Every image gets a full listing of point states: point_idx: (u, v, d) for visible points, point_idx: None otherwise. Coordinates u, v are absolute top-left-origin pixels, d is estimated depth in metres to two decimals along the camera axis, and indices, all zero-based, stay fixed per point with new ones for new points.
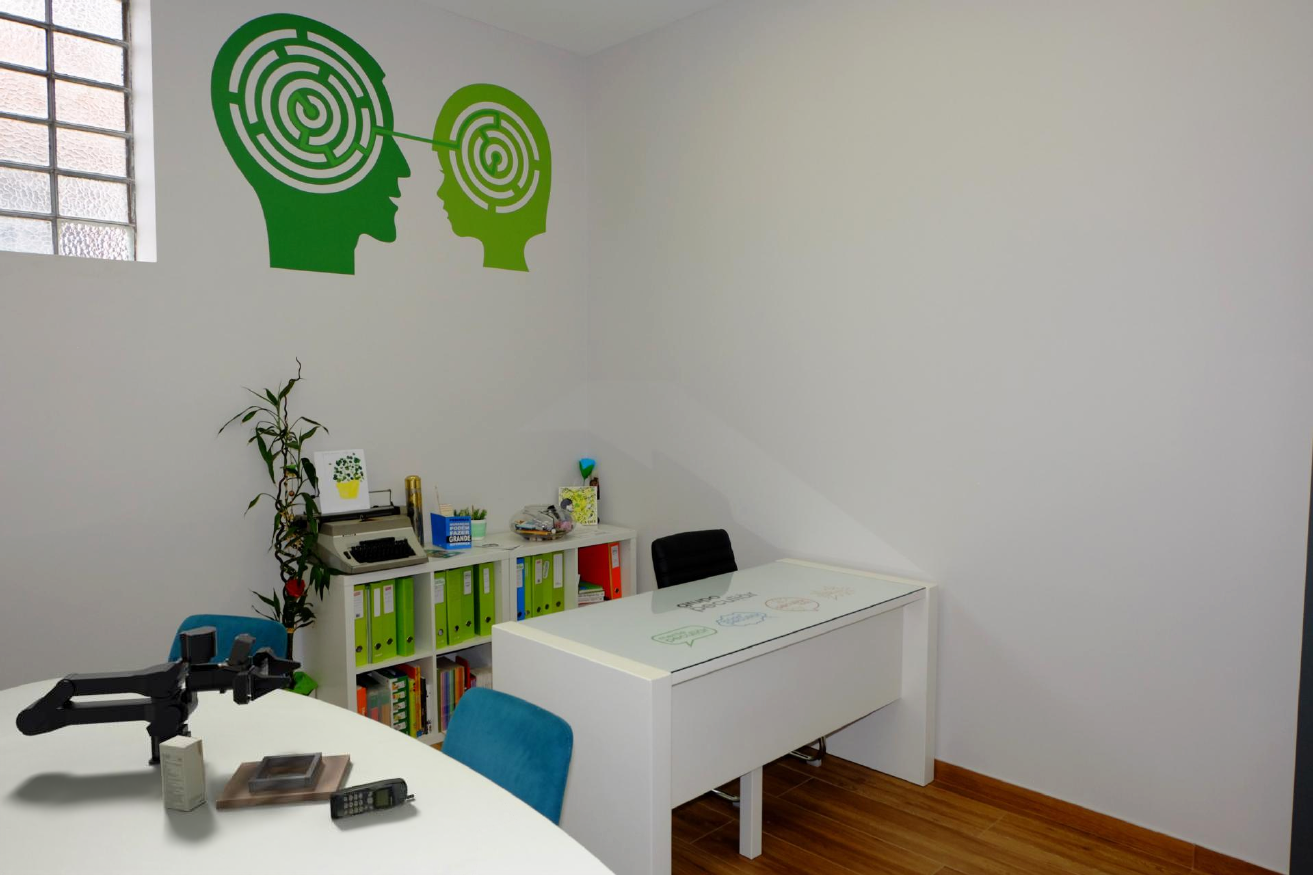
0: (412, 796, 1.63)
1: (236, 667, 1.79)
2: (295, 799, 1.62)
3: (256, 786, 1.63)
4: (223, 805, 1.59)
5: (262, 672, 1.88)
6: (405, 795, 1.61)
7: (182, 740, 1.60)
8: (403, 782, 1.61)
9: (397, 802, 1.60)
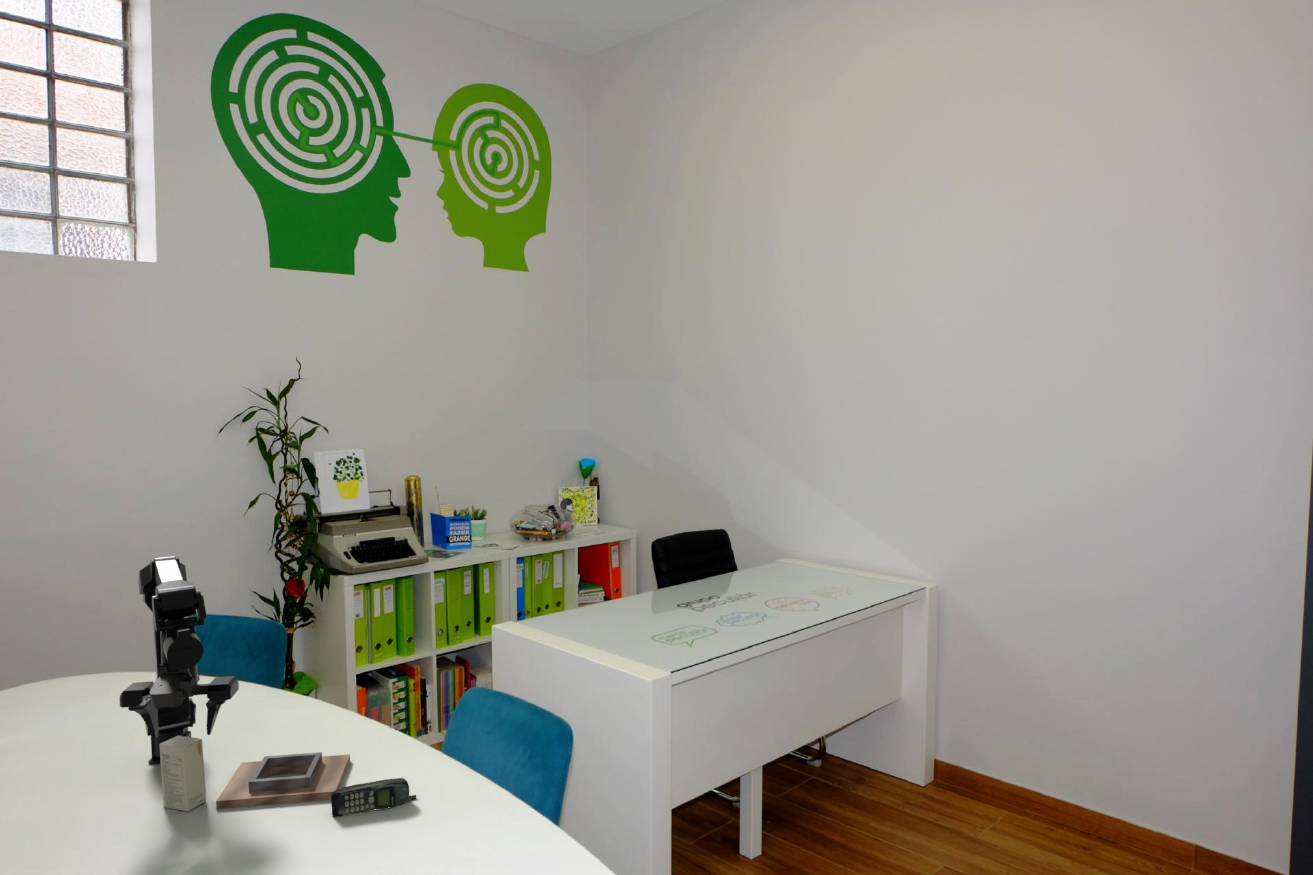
0: (414, 797, 1.63)
1: None
2: (295, 799, 1.62)
3: (256, 786, 1.63)
4: (223, 805, 1.59)
5: None
6: (407, 795, 1.61)
7: (182, 740, 1.60)
8: (405, 782, 1.61)
9: (398, 802, 1.60)
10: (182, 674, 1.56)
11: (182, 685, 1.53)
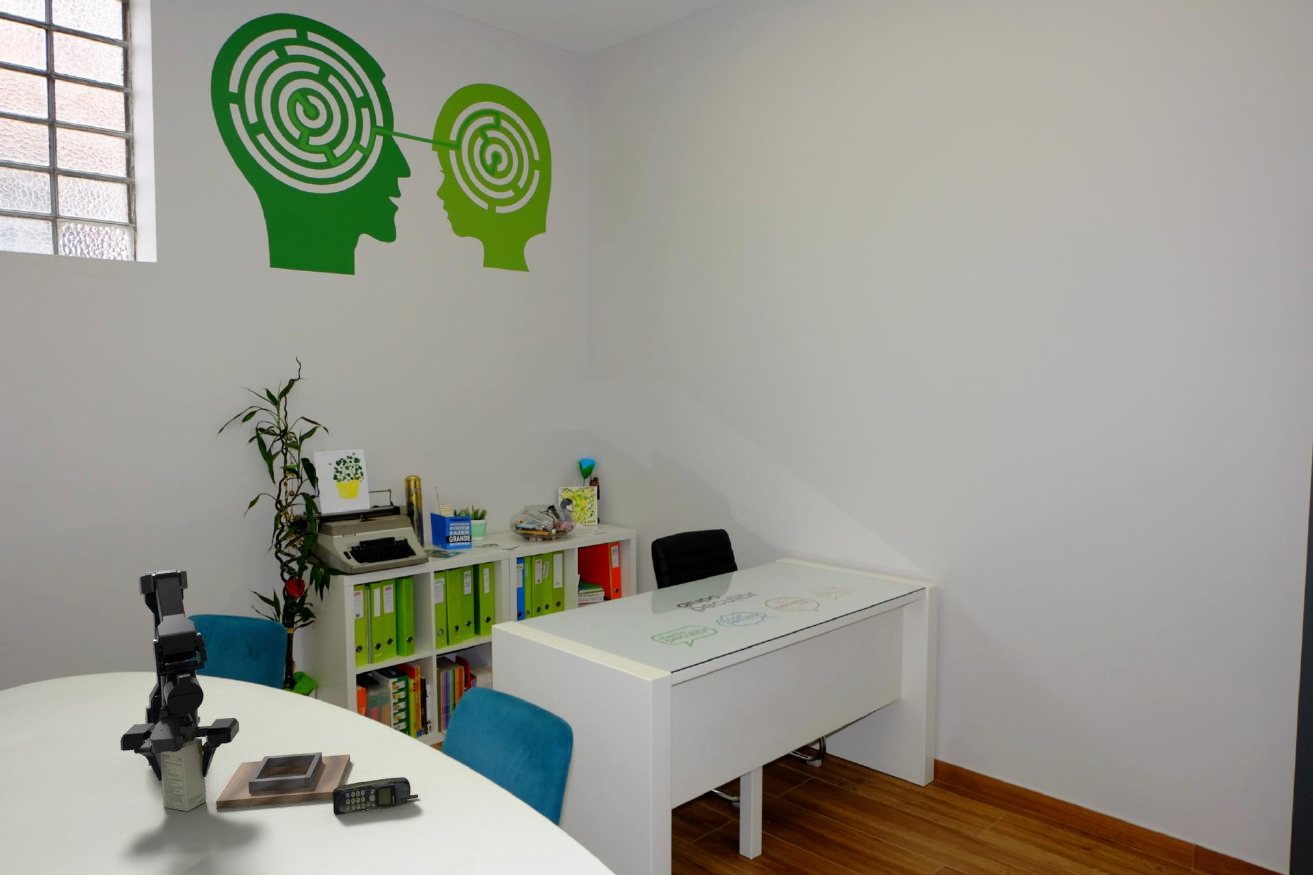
0: (416, 796, 1.63)
1: None
2: (295, 799, 1.62)
3: (256, 786, 1.63)
4: (223, 805, 1.59)
5: None
6: (408, 795, 1.61)
7: None
8: (406, 782, 1.61)
9: (399, 801, 1.60)
10: (182, 718, 1.56)
11: (182, 730, 1.53)
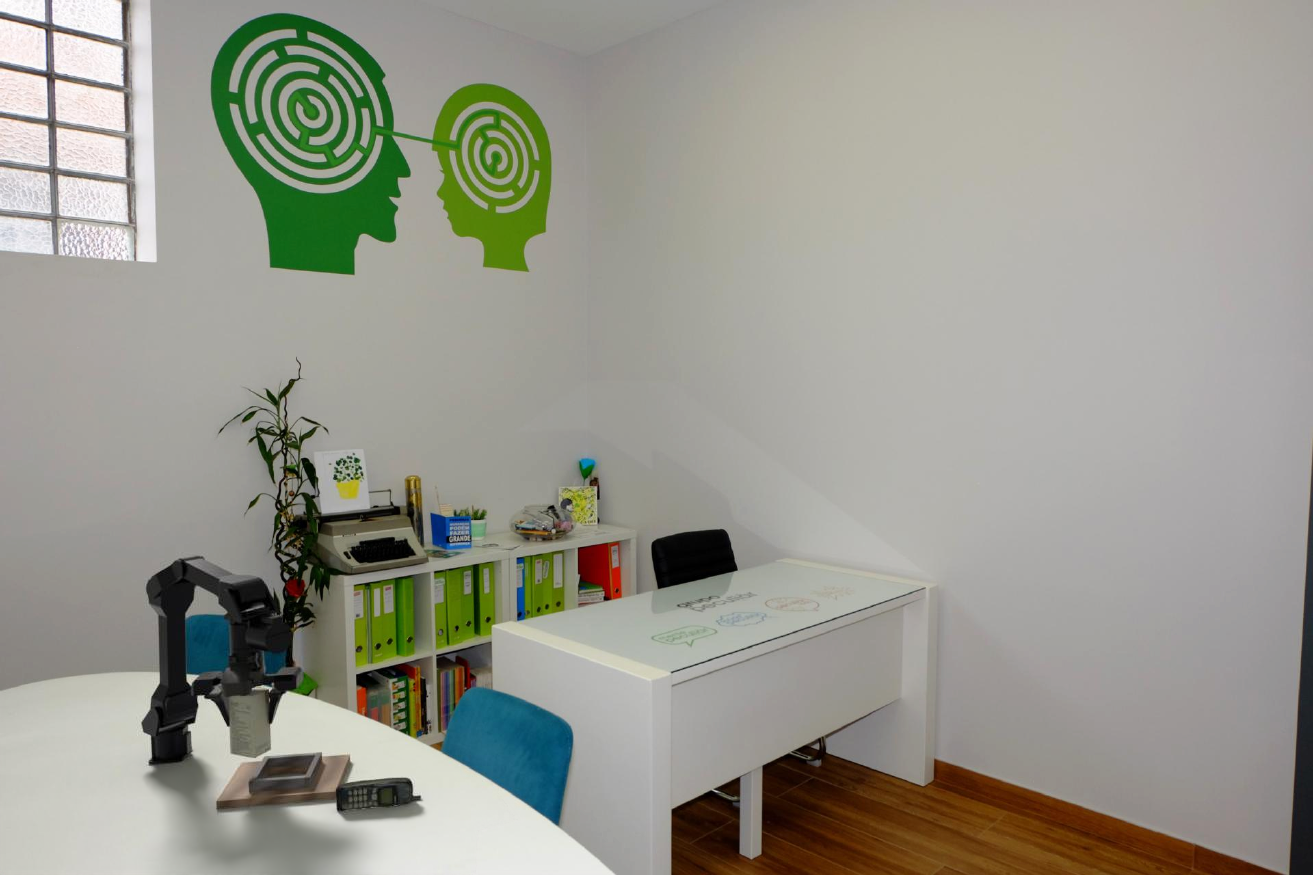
0: (419, 797, 1.63)
1: None
2: (295, 799, 1.62)
3: (256, 786, 1.63)
4: (223, 805, 1.59)
5: None
6: (410, 795, 1.61)
7: None
8: (408, 782, 1.61)
9: (401, 802, 1.60)
10: (250, 664, 1.60)
11: (251, 675, 1.57)
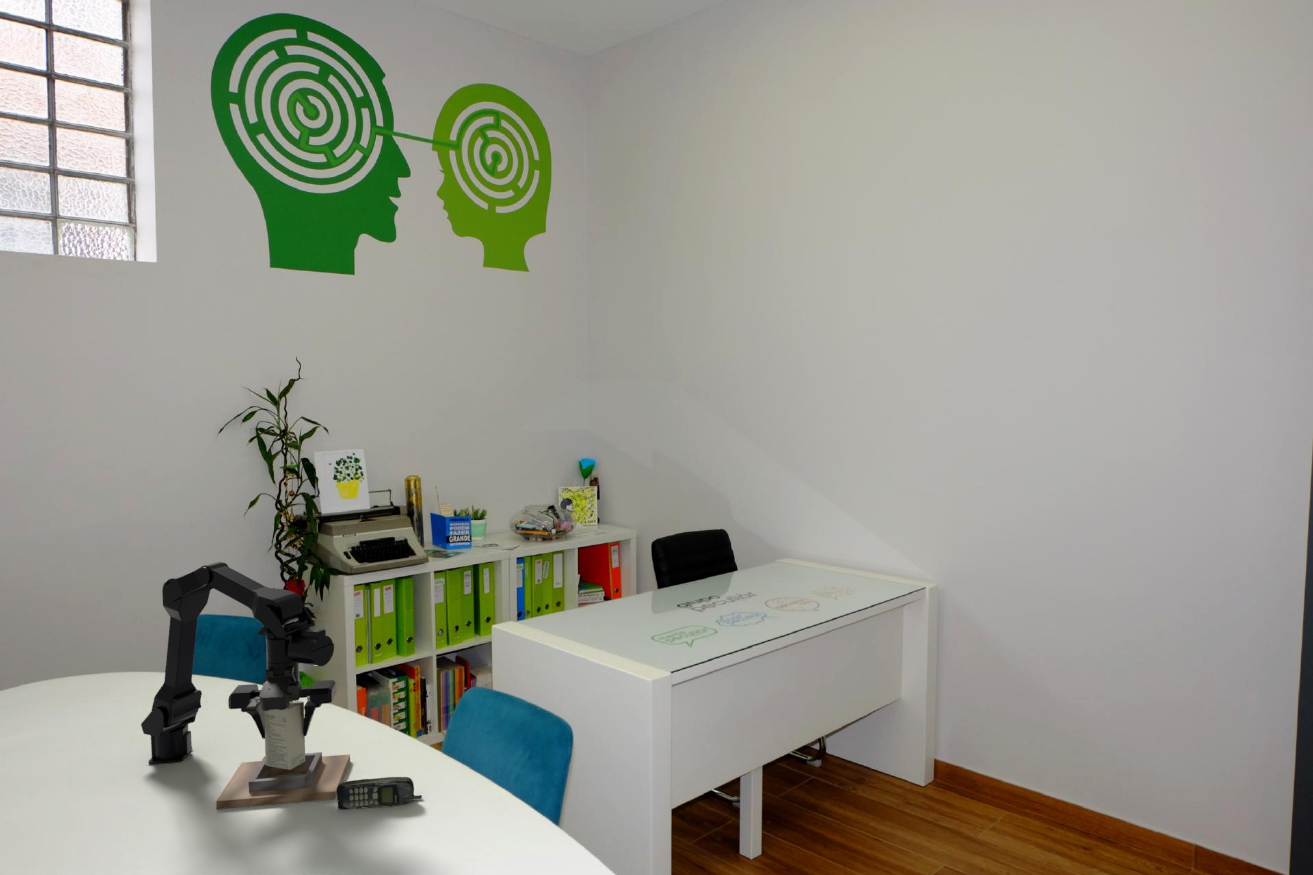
0: (419, 797, 1.63)
1: None
2: (295, 799, 1.62)
3: (256, 786, 1.63)
4: (223, 805, 1.59)
5: None
6: (410, 795, 1.61)
7: None
8: (408, 782, 1.61)
9: (402, 801, 1.60)
10: (287, 678, 1.64)
11: (289, 689, 1.61)
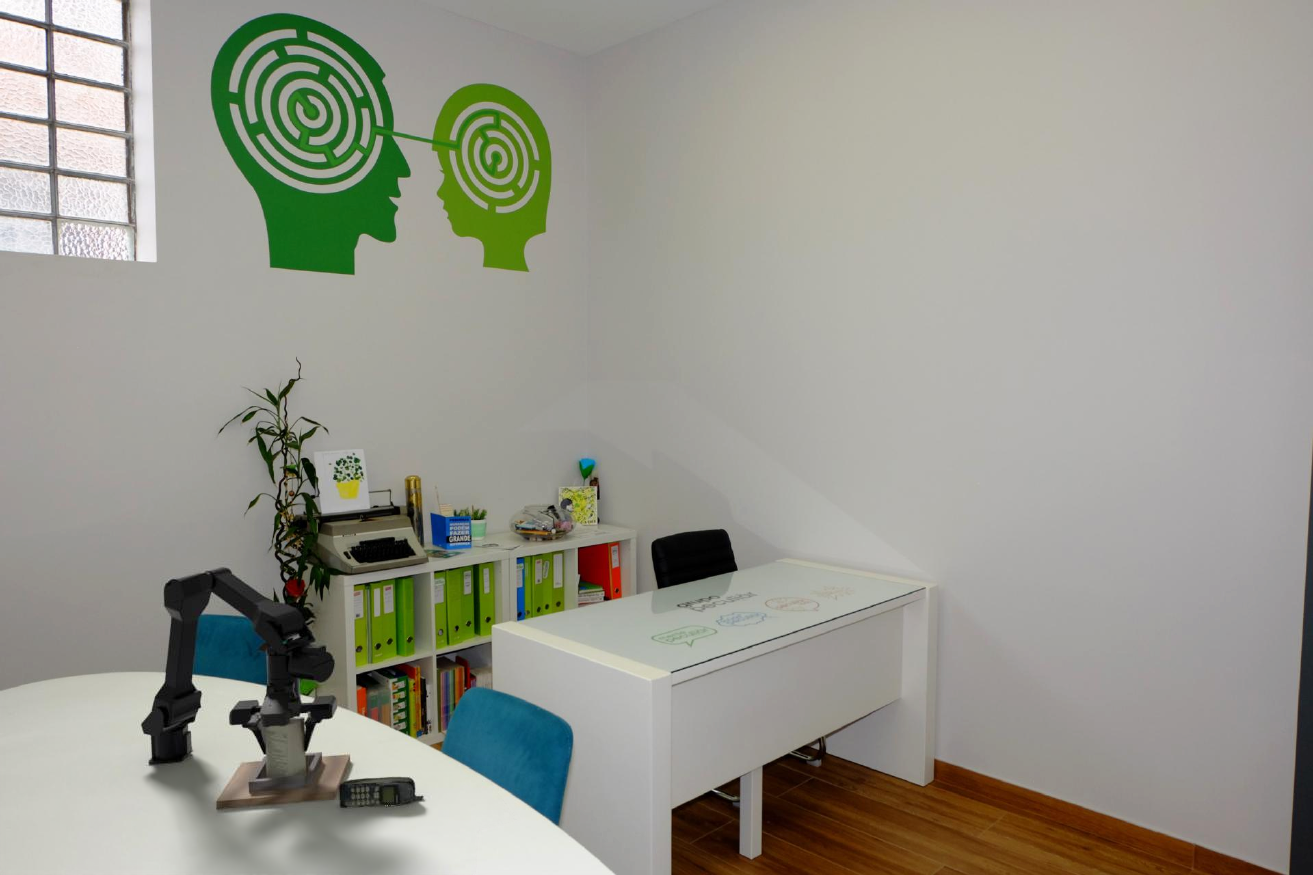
0: (421, 797, 1.62)
1: None
2: (295, 799, 1.62)
3: (256, 786, 1.63)
4: (223, 805, 1.59)
5: None
6: (411, 795, 1.61)
7: None
8: (409, 782, 1.61)
9: (403, 801, 1.61)
10: (288, 694, 1.64)
11: (290, 705, 1.61)
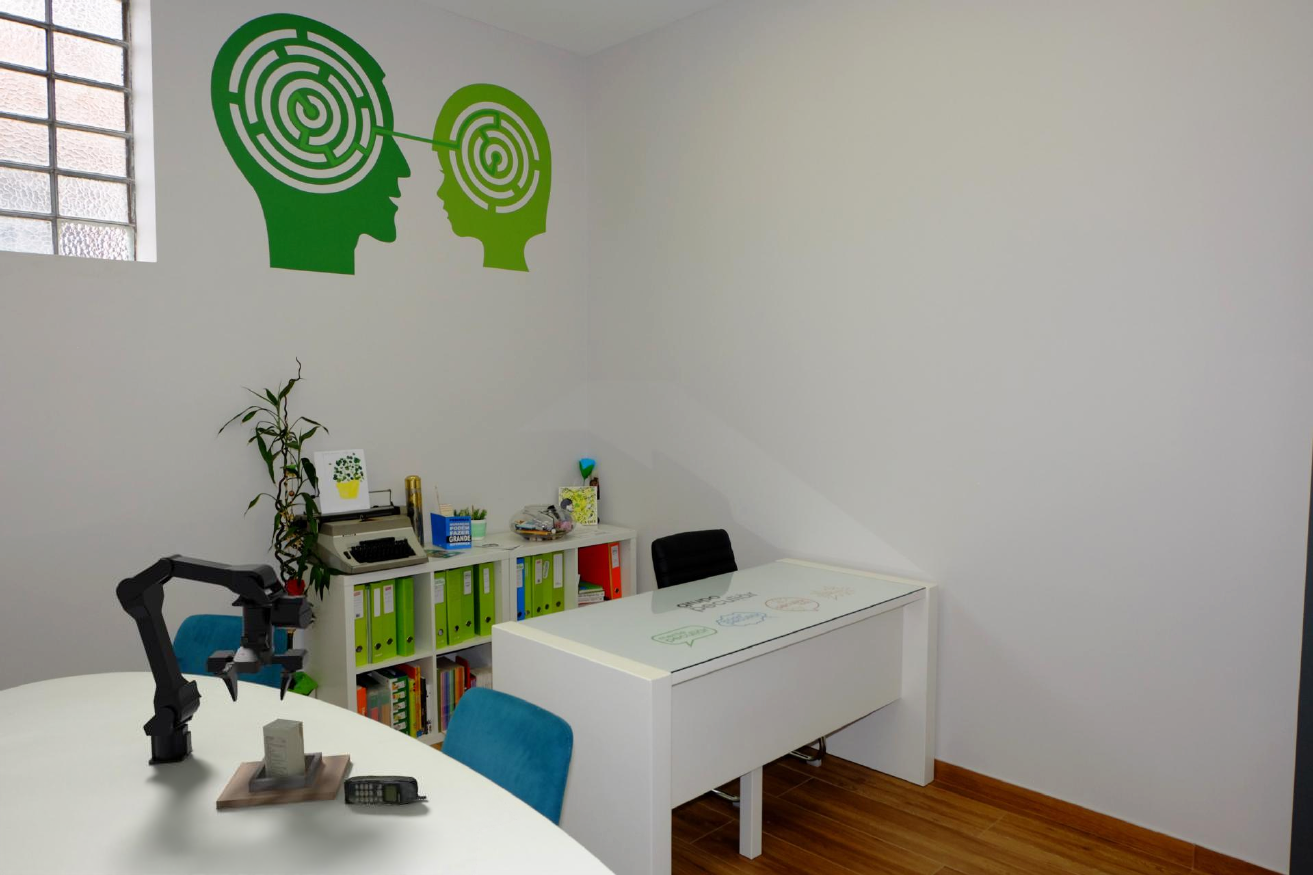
0: (424, 798, 1.62)
1: None
2: (295, 799, 1.62)
3: (256, 786, 1.63)
4: (223, 805, 1.59)
5: None
6: (413, 795, 1.61)
7: (284, 723, 1.68)
8: (412, 782, 1.61)
9: (405, 801, 1.61)
10: (261, 645, 1.74)
11: (261, 655, 1.71)
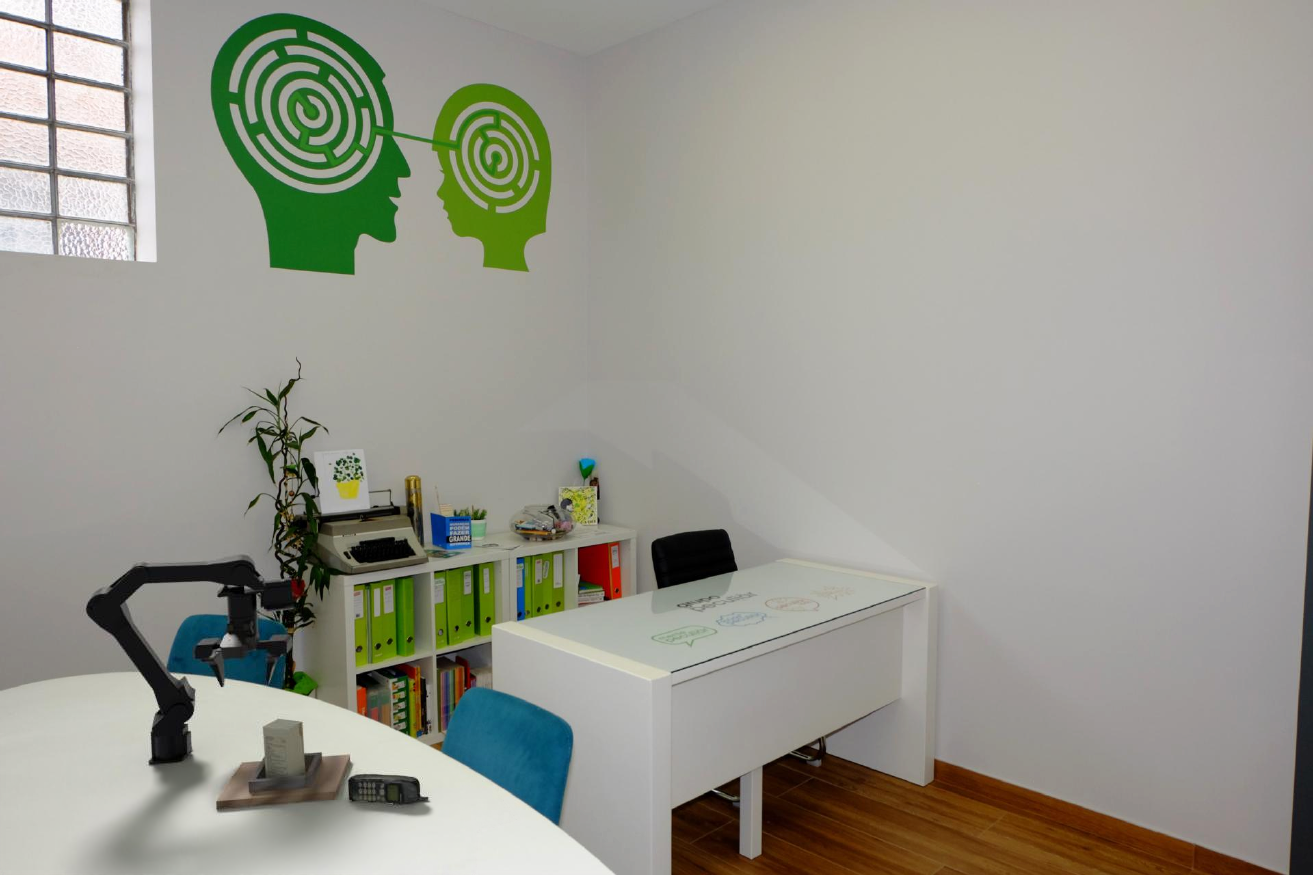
0: (425, 799, 1.62)
1: None
2: (295, 799, 1.62)
3: (256, 786, 1.63)
4: (223, 805, 1.59)
5: None
6: (415, 796, 1.61)
7: (284, 723, 1.68)
8: (413, 782, 1.61)
9: (407, 801, 1.61)
10: (246, 631, 1.82)
11: (247, 640, 1.79)
